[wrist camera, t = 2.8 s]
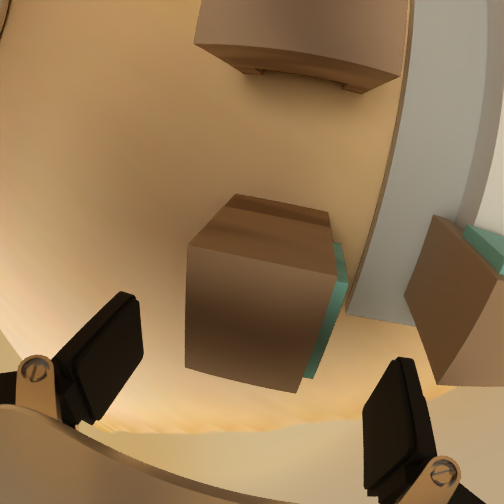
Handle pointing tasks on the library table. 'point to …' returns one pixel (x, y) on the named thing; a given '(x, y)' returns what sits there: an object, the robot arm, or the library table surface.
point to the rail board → (445, 196)
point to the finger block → (262, 293)
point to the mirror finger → (308, 38)
